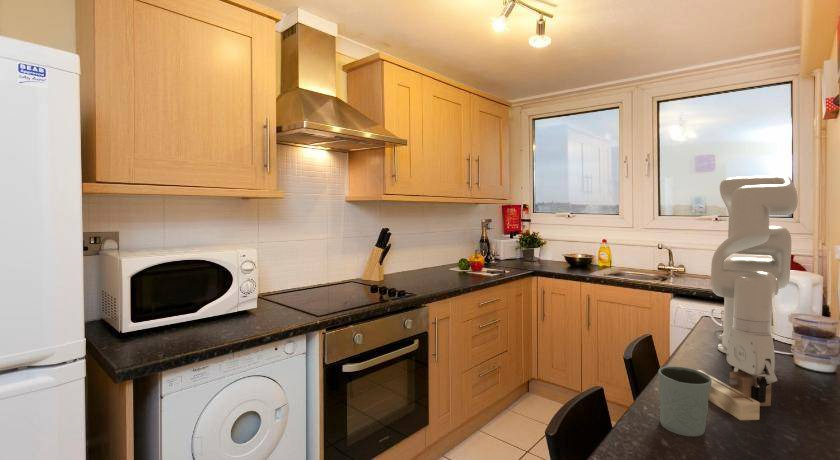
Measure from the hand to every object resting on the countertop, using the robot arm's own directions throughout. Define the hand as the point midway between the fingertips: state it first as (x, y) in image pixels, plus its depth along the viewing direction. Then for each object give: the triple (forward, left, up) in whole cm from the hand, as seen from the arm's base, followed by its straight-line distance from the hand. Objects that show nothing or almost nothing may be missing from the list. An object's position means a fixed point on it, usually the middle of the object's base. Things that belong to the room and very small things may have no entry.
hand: (749, 396), depth 109 cm
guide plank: (-1, -7, -1) cm, 7 cm away
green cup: (+11, -24, -2) cm, 26 cm away
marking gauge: (0, 0, -1) cm, 1 cm away
